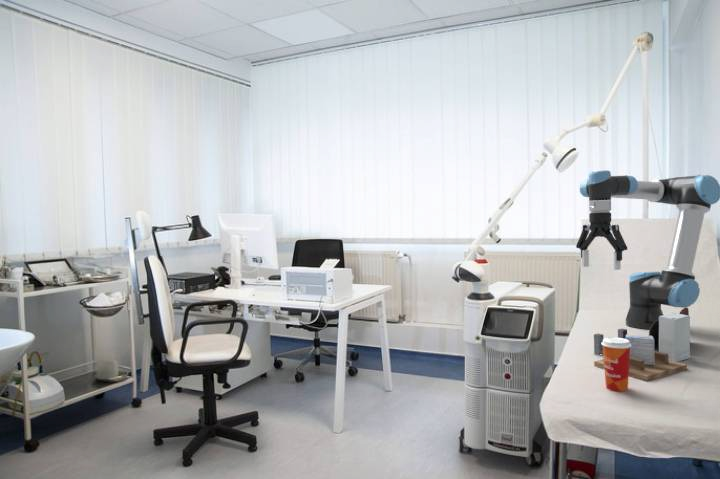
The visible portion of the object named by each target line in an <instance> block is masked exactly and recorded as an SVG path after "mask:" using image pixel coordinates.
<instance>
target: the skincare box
mask: <svg viewBox="0 0 720 479" xmlns="http://www.w3.org/2000/svg"><path fill="white" fill-rule="evenodd" d="M659 352H662V353H667V354H668V360H670V361H674V362H678V363H679V362H681V361H684V360H688V359H690V358H691V357H690V356H691V316H690V315H689V316H688V315H683V314H679V313H676V312H671V313H667V314H665V315H664V314H663V316H659Z"/></svg>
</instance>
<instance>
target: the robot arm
mask: <svg viewBox="0 0 720 479" xmlns="http://www.w3.org/2000/svg"><path fill="white" fill-rule="evenodd" d="M579 193H580V194H581V196H582V197H583V198H584V197H585V198H588V205H589V206H588V208H589V209H588V212H590V213H588V218H589V220H588V221H589V224H583V225H582V231H581V234H580V235H579V238H578V240H577V243H576V245H575V248H576V249H580V257H581V259H582V268H587V267H590V254H589V252H590V250H589V249H588V248H589V246H590V245H591V244H592V243H593V241H594V240H595V238H598V237H601V238H603V237H604V239H606V240H607V242H608V243H609V244H610V245H611V247H612V248H613V250H614V251H613V270H614V271H617V270H621V264H622V263H621V261H623V252H625V251H627V250H628V246H627V244H626V242H625V239H624V237H623V235H622V234H621V231H620V226H619V224H612V225H611V222H612V213H611V211H612V198H613V199H633V200H635V199H636V200H647V201H648V202H651V203H661V204H665V205H676V208H677V209H678V211H679V212H678V217H677V221H676V226H675V229H674V233H673V234H674V235H673V239H672V242H671V248H670V253H669V257H668V262H667V265H666V267H665V268H664V269H663V268H662V270H661V272H660V271H643V272H642V271H641V272H633V273H631V274H630V275H629V282H628V285H629V287H628V288H629V308H628V311H627V315H626V317H625V326H628V327H630V328H631V327H632V328H635V329H641V330H642V329H644V330H649V329H650V327H651V326H652V324H653V323H654V322H655V321H657V320H658V319H659V316H663V315H664V312H663V310H662V305H664V306H668V307H669V306H670V307H674V308H681V309H684V308H689V307H690V306H692V305H694V304H695V303H696V302H697V300H698V299H699V296H700V291H701V289H700V287H699V286H700V284H699V283H698V282H697V281H696V280H695V279H696V275H695V274H694V273H693V268H694V262H695V258H696V254H697V249H698V245H699V240H700V236H701V233H702V227H703V222H704V217H705V215H706V214H707V213H708V212H710V210H711V207H712V205H714V204H717V203H718V201H720V184H719V181H718V180H717V179H716V178H715V177H714V176H712V175H709V174H706V175H705V174H704V175H703V174H697V175H690V176H689V175H688V176H677V177H670V178H663V179H652V180H651V179H650V180H649V181H645V180H643V181H642V180H637V179H636V177H634V176H633V175H627V174H626V175H612V173H611V171H610V170H592V171H591V172H589V173H588V178H587V179H584V180H582V181H581V183H580V185H579Z"/></svg>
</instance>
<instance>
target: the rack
mask: <svg viewBox="0 0 720 479" xmlns="http://www.w3.org/2000/svg"><path fill="white" fill-rule="evenodd" d="M626 335H628V329H626V328H618V329H617V338H623V339H626ZM604 338H605V337H604V334H603V333H595V334H593V350H594V351H593V354H594V355H596V354H598V355H597V356H601V355H600V354H602V355H603V345H602V344H601V343H602V342H603V339H604Z"/></svg>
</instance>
